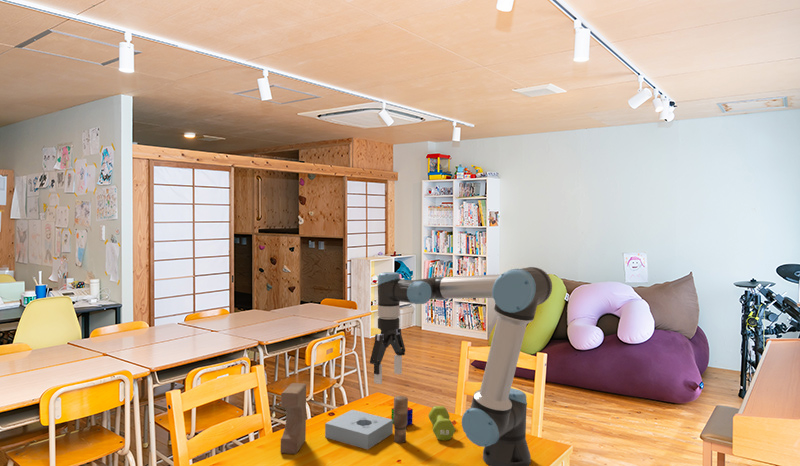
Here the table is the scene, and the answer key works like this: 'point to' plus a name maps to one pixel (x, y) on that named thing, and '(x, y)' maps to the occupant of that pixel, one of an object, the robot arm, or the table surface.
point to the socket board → (359, 429)
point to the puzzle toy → (409, 416)
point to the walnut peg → (400, 418)
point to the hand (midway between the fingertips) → (388, 378)
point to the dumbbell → (441, 423)
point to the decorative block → (294, 418)
